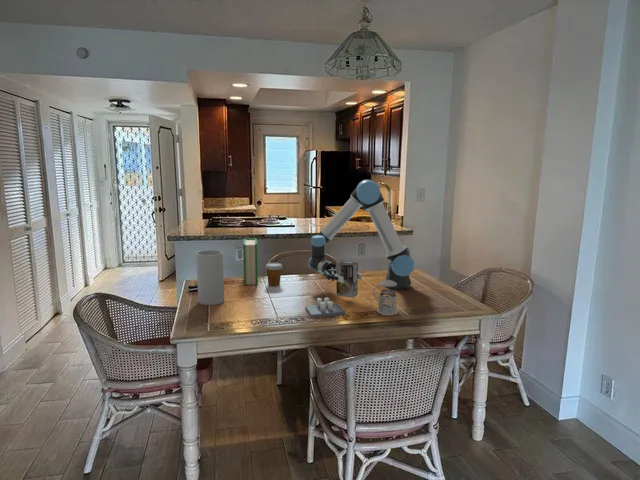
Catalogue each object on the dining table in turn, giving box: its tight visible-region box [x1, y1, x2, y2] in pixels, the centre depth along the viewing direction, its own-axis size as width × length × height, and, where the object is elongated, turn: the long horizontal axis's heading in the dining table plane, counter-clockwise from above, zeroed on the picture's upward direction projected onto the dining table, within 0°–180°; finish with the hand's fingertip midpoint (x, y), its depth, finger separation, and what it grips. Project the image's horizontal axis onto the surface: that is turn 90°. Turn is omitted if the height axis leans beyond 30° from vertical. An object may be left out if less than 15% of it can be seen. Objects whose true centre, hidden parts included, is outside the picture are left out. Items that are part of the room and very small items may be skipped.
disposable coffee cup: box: [265, 262, 283, 287], centre depth 239 cm, size 10×10×12 cm
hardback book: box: [242, 237, 258, 287], centre depth 244 cm, size 18×7×24 cm, turn 9°
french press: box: [373, 259, 398, 316], centre depth 197 cm, size 10×12×25 cm
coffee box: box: [335, 261, 359, 299], centre depth 204 cm, size 9×6×16 cm
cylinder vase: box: [195, 249, 225, 306], centre depth 208 cm, size 12×12×25 cm
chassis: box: [304, 297, 346, 319], centre depth 197 cm, size 16×12×6 cm
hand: (352, 278), depth 200 cm, fingers closed on coffee box, 10 cm apart
